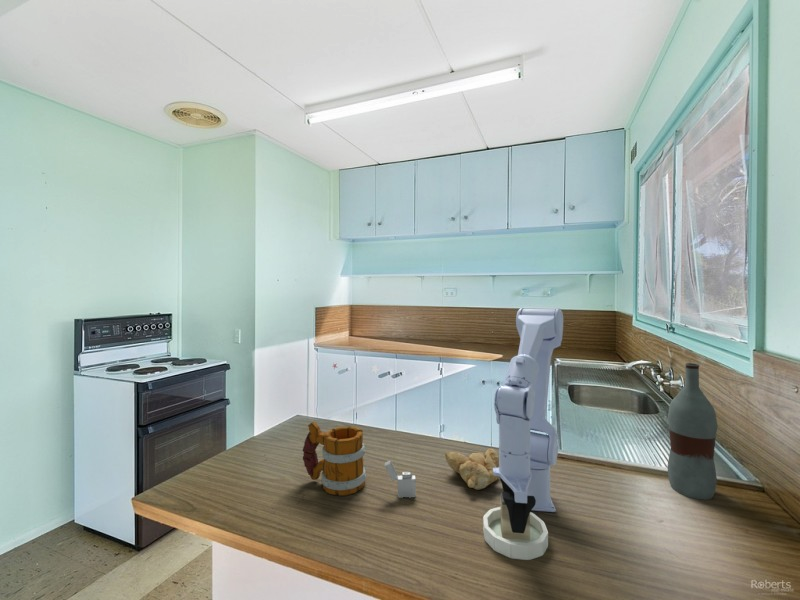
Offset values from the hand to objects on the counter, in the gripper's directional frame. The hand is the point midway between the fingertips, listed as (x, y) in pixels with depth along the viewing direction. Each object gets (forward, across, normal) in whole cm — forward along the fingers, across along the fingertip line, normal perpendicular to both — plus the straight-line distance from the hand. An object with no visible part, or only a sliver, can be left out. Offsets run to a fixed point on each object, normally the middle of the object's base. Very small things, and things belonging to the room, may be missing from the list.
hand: (514, 518), depth 69 cm
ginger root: (+4, -21, -6) cm, 22 cm away
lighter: (+4, -11, -24) cm, 27 cm away
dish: (+4, 0, 0) cm, 4 cm away
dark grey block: (+3, 0, 0) cm, 3 cm away
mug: (+4, -14, -41) cm, 43 cm away
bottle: (+4, -23, +44) cm, 50 cm away
